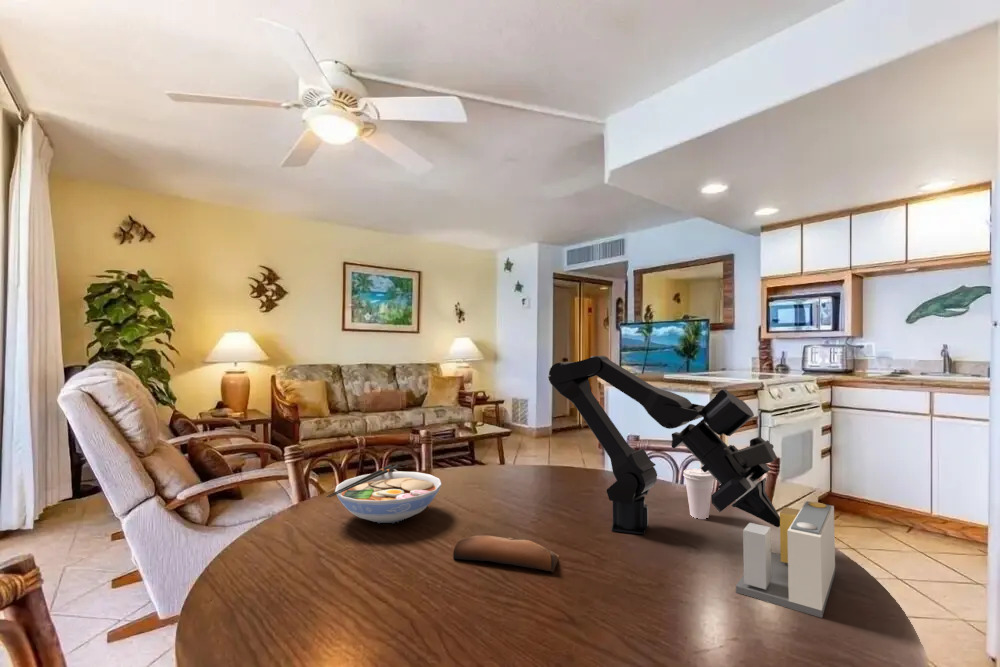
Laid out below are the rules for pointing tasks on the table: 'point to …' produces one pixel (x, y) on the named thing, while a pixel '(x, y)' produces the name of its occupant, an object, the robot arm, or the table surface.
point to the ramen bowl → (387, 494)
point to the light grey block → (757, 555)
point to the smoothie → (698, 491)
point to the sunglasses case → (506, 552)
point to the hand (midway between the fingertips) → (780, 525)
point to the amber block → (785, 522)
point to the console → (802, 564)
